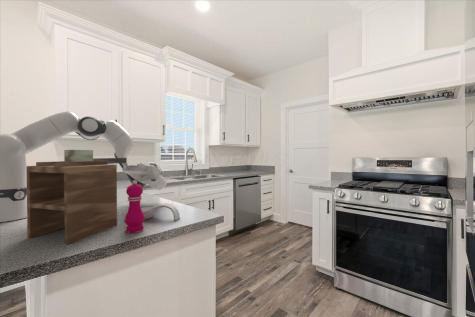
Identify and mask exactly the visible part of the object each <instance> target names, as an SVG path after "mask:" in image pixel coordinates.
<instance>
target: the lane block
mask: <svg viewBox="0 0 475 317" xmlns="http://www.w3.org/2000/svg"><path fill="white" fill-rule="evenodd" d="M63 152H64V154H63V155H64V156H63V159H64V160H63V161H64V162H86V161H107V164H112V165H116V164H119V163H127V162H128V157H127V158H115V157H106V158H105V157H103V158H101V157H98V158H96V157H95V158H94V150H93V149H64V150H63Z"/></svg>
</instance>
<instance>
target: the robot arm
mask: <svg viewBox="0 0 475 317" xmlns="http://www.w3.org/2000/svg"><path fill="white" fill-rule="evenodd" d="M71 133H75V134H77V135H78V136H80V137H81V138H83V139H84V140H88V141H95V140H97V139H99V138H100V137H102V138H105V139H106V140H107V141H108V142H109V143H110V145H112V147H113V149H114V158H127V159H128V155H129V153H130V151H131V150H132V148H133V147H134V138H132V136H131V135H130V133H128V131H127V130H126V128H124V127H123V126H121V125H120V124H119V123H118V122H117V121H115V120H107V121H104V120H101V119H99V118H97V117H95V116H88V115H87V116H84V117H82V118H80V117H79V116H78V115H77V114H76V113H74V112H72V111H69V110H67V111H66V110H65V111H62V112H58V113H54V114H52V115H49V116H47V117H44V118H42V119H39V120H37V121H35V122H33V123H30V124H28V125H26V126H24V127H22V128H20V129H18V130H16V131H14V132H12V133H4V134H2V133H1V134H0V223H5V222H12V221H17V220H22V219H25V218H27V172H26V166H27V160H26V155H28V154H29V153H32V152H34V151H36V150H37V149H39V148H41V147H43V146H45V145H47V144H50V143H52V142H54V141H55V140H58V139H60V138H62V137H64V136H67V135H68V134H71ZM118 164H119V166H120V168H121V169H122V172H123V173H124V174H125V175H126V176H127V178H128V180H129V182H130V183H131V184H132V182H133V181H134V180H136V181H137V184H138V185H140V186H142V188H144V187H146V185H148V186H149V187H150V188H152V189H155V190H158V191H160V190H163V189H164V188H165V187H166V186H167V183H168V182H167V179H166V178H165V177H164V176H163V174H162V171H163V170H162V168H161V167H160V166H159V165H158V164H156V163H155V162H153V161H148V162H147V163H145V164H144V163H142V162H138V163H137V164H136V165H135V164H129V162H128V161H127V163H118Z"/></svg>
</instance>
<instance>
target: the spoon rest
mask: <svg viewBox="0 0 475 317" xmlns="http://www.w3.org/2000/svg"><path fill="white" fill-rule="evenodd" d="M161 208H166V209H169V210H170V211H171V212H172V215H173V221H177V220H178V218H179V219H180V218H181V216H180V212H179V210H178V208H177V207H175V206H174V205H173V204H171V203H166V202H165V203H161V204H158V205H155V206H148V207H145V206H144V207H141V210H142V211H143V213H144V217H145V220H147V219H150V218H152V217H153V216H154V215H155V214H156V213H157V212H158V211H159V210H161Z"/></svg>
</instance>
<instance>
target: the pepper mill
mask: <svg viewBox="0 0 475 317" xmlns="http://www.w3.org/2000/svg"><path fill="white" fill-rule="evenodd" d="M143 188H144V187H142V186H140V185H138V184H137V181H136V180H134V181H133V182H132V183H131V184H129V185H128V186H127V187H126V190H125V191H126V192H125V194H126V195H127V201H128V205H129V207H128V210H127V213H126V215H125V218H124V223H125V224H126V227H125V232H126V233H129V234H134V233H139V232H142V231H143V230H144V224H143V223H144V222H145V220H146V219H145V217H144V213H143V211H142V210H141V208H142V207H141V200H142V194H143V192H144V189H143Z"/></svg>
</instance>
